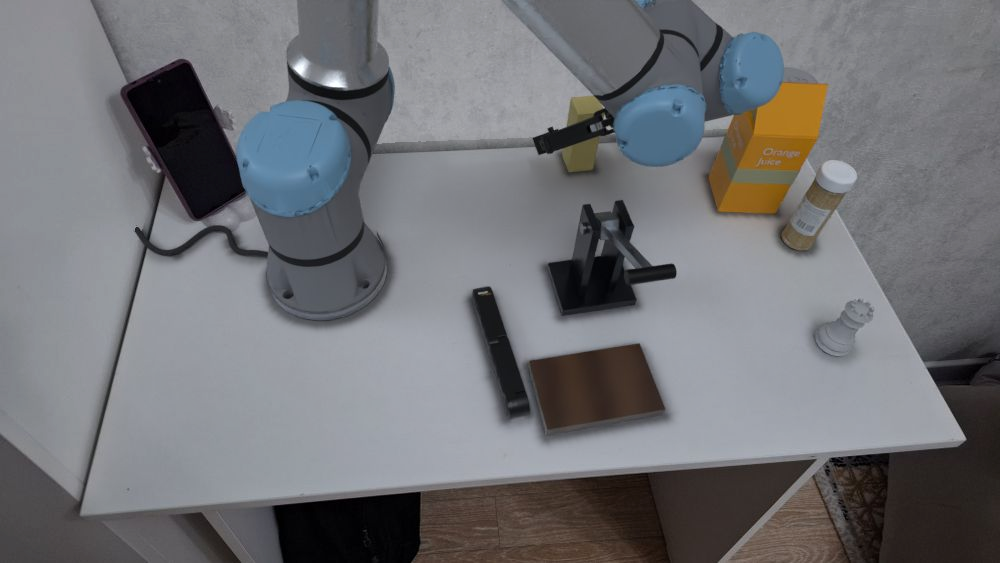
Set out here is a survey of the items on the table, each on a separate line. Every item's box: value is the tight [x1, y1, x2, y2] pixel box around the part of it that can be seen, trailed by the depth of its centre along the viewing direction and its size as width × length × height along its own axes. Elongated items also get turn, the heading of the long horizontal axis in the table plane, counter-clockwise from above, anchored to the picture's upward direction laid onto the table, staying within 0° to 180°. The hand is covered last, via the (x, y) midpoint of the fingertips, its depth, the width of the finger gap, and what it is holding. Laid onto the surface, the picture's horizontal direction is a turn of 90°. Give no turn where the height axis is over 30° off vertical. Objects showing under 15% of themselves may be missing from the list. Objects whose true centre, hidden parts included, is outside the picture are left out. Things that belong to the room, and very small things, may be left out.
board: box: [527, 343, 666, 436], centre depth 73 cm, size 14×9×2 cm, turn 101°
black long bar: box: [471, 285, 531, 420], centre depth 75 cm, size 18×3×3 cm, turn 15°
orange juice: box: [707, 82, 829, 215], centre depth 87 cm, size 8×9×20 cm
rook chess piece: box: [814, 297, 875, 357], centre depth 76 cm, size 4×4×8 cm
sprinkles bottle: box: [780, 159, 858, 252], centre depth 84 cm, size 5×5×13 cm
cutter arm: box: [594, 210, 678, 286], centre depth 68 cm, size 15×5×2 cm, turn 11°
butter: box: [561, 95, 605, 173], centre depth 93 cm, size 4×4×11 cm
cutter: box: [546, 199, 637, 317], centre depth 77 cm, size 8×10×14 cm
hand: (573, 130), depth 95 cm, fingers open, 13 cm apart
